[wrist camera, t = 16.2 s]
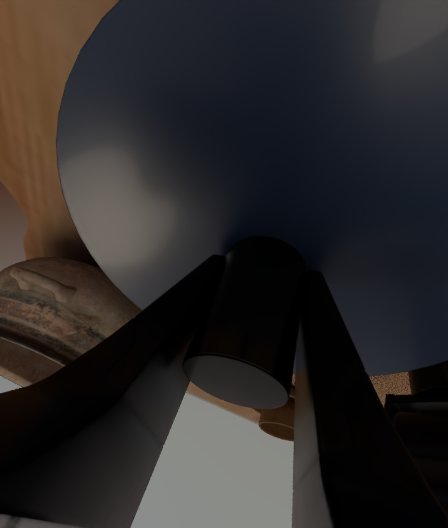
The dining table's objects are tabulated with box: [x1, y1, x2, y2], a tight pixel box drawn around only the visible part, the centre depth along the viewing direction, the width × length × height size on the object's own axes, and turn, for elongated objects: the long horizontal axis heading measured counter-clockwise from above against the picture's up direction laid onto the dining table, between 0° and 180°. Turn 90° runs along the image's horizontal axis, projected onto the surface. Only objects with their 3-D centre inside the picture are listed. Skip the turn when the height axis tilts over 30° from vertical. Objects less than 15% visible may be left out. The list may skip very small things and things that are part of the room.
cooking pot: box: [0, 257, 142, 387], centre depth 32 cm, size 25×19×12 cm
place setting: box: [253, 387, 295, 441], centre depth 40 cm, size 18×20×6 cm
